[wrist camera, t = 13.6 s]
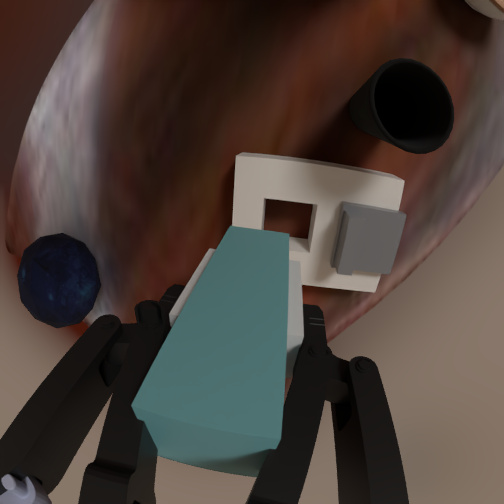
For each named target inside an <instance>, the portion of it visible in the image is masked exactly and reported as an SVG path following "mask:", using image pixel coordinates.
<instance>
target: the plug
mask: <svg viewBox="0 0 504 504" xmlns="http://www.w3.org/2000/svg"><path fill="white" fill-rule="evenodd" d="M288 294H289V234H287V233H280V232H273V231H266V230H259V229H251V228H244V227H236V226H230V227H229V229H228V230H227V232H226V234H225V235H224V237H223V239H222V240H221V242H220V244H219V246H218V247H217V249H216V251H215V252H214V254H213V256H212V258H211V259H210V261H209V263H208V264H207V266H206V268H205V270H204V271H203V273H202V275H201V277H200V278H199V280H198V282H197V284H196V285H195V287H194V289H193V291H192V293H191V294H190V296H189V298H188V300H187V301H186V303H185V305H184V307H183V309H182V310H181V312H180V314H179V316H178V318H177V320H176V321H175V323H174V325H173V327H172V329H171V331H170V332H169V334H168V336H167V338H166V340H165V342H164V343H163V345H162V347H161V349H160V351H159V353H158V355H157V357H156V358H155V360H154V362H153V364H152V366H151V368H150V370H149V372H148V374H147V376H146V378H145V380H144V381H143V383H142V385H141V387H140V389H139V391H138V393H137V395H136V397H135V399H134V401H133V403H132V405H131V406H132V408H133V410H134V413H135V415H136V417H137V419H140V420H142V421H144V422H145V424H146V426H147V429H148V431H149V433H150V435H151V437H152V439H153V441H154V443H155V445H156V447H157V449H158V454H157V456H160V457H163V458H167V459H170V460H173V461H177V462H181V463H184V464H188V465H192V466H196V467H200V468H205V469H210V470H214V471H219V472H224V473H230V474H236V475H243V476H251V477H257V476H258V473H259V471H260V469H261V467H262V465H263V462H264V460H265V458H266V456H267V453H268V451H269V449H276V448H277V446H278V444H279V442H280V440H281V431H282V419H283V405H284V388H285V372H286V352H287V327H288Z"/></svg>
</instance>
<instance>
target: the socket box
mask: <svg viewBox="0 0 504 504" xmlns="http://www.w3.org/2000/svg"><path fill="white" fill-rule="evenodd" d="M404 182H405V181H404V180H402V179H400V178H398V177H396V176H394V175H393V174H389V173H384V172H379V171H374V170H370V169H364V168H359V167H354V166H348V165H343V164H337V163H330V162H324V161H317V160H310V159H303V158H295V157H286V156H277V155H267V154H256V153H244V152H242V153H240V154H238V155H237V156H236V164H235V181H234V199H233V219H232V226H236V227H244V228H251V229H259V230H263V229H264V218H265V207H266V198H267V199H276V200H285V201H293V202H301V203H308V204H313V208H312V215H311V221H310V228H309V234H308V239H303V238H295V237H289V260H293V261H300V266H301V283H302V285H310V286H318V287H327V288H337V289H346V290H356V291H366V292H375V291H376V288H377V285H378V282H379V279H380V276H381V273H373V272H365V271H356V270H353V274H352V276H350V275H341V274H337V272H336V268H331V265H330V260H331V255H332V250H333V246H334V241H335V236H336V231H337V226H338V221H339V215H340V210H341V204H342V201H345V202H351V203H357V204H363V205H369V206H375V207H380V208H386V209H391V210H396V211H399V206H400V202H401V197H402V192H403V187H404Z"/></svg>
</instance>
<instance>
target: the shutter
mask: <svg viewBox="0 0 504 504" xmlns="http://www.w3.org/2000/svg"><path fill="white" fill-rule="evenodd" d="M405 219H406V214H405V213H403V212H401V211H396V210H391V209H386V208H380V207H375V206H369V205H363V204H357V203H351V202H345V201H342V204H341V210H340V215H339V221H338V226H337V231H336V236H335V241H334V246H333V250H332V255H331V260H330V265H331V268H336V272H337V274H341V275H350V276H352V274H353V270H356V271H365V272H373V273H382V274H390V272H391V269H392V265H393V262H394V259H395V256H396V252H397V249H398V246H399V242H400V238H401V235H402V231H403V227H404V223H405Z"/></svg>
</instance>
